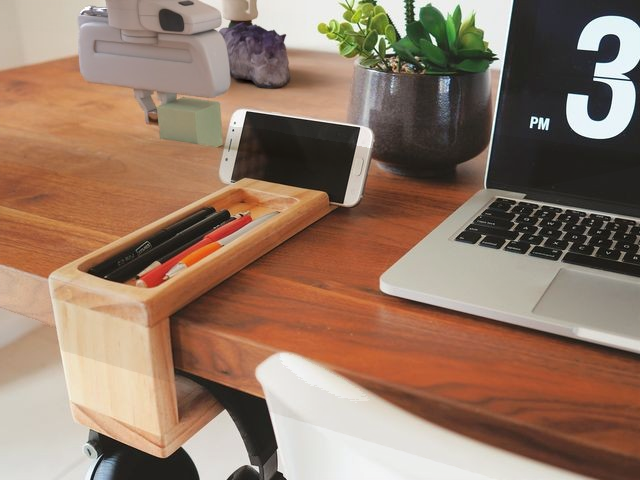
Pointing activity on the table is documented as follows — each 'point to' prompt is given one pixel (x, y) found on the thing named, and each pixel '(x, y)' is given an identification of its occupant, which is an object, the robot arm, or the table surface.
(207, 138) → the cube
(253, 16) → the character mug
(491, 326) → the table surface
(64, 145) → the table surface
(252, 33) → the geode
